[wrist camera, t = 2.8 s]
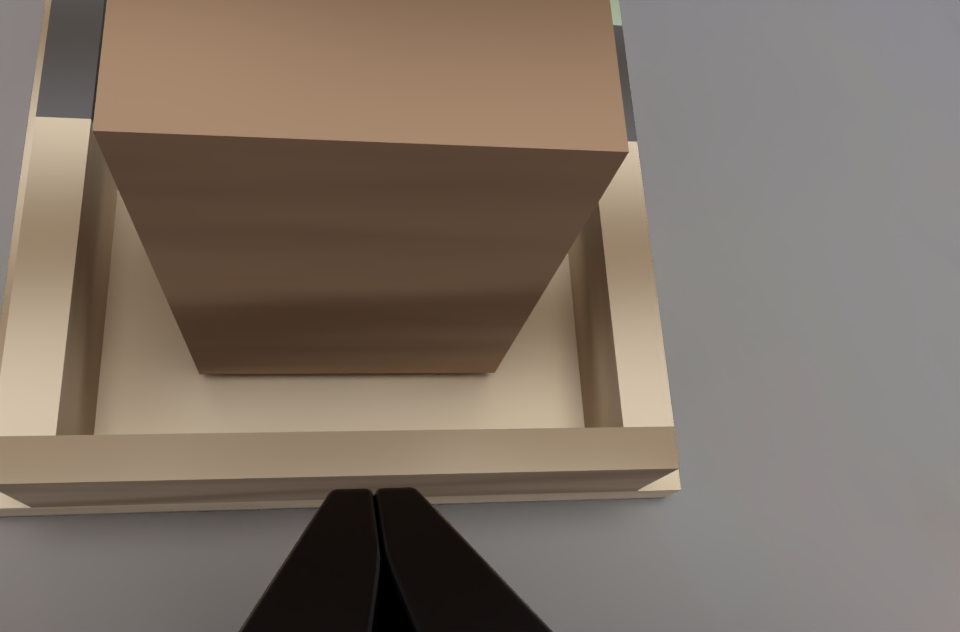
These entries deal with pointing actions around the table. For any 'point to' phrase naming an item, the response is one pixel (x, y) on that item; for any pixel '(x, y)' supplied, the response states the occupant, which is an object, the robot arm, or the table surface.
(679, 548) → the table surface
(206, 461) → the beige flat tray
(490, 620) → the robot arm
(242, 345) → the walnut block
